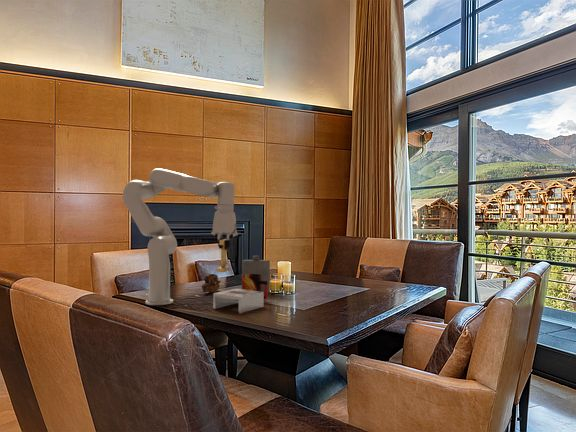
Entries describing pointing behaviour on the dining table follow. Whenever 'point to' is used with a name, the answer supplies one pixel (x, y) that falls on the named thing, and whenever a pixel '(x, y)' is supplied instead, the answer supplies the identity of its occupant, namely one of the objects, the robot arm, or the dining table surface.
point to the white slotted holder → (239, 299)
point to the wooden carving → (211, 283)
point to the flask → (258, 270)
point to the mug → (253, 283)
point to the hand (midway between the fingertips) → (223, 248)
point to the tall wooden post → (223, 257)
